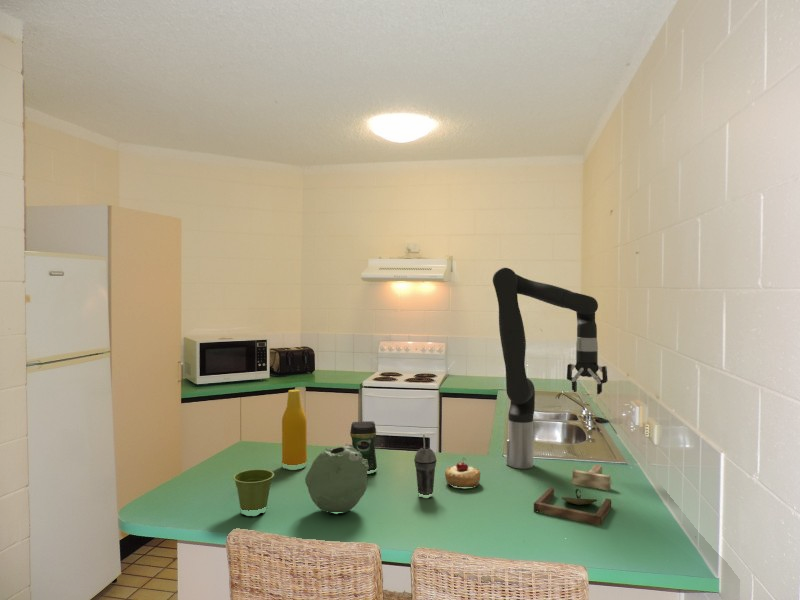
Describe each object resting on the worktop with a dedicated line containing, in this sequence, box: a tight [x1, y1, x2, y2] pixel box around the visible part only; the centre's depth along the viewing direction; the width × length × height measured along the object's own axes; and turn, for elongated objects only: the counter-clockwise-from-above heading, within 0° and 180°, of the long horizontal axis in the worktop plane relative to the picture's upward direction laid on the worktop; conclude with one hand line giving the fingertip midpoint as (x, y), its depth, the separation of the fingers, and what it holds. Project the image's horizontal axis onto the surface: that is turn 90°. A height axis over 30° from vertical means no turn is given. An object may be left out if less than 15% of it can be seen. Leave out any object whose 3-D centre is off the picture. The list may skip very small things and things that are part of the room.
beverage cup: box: [413, 434, 437, 495], centre depth 175 cm, size 7×7×20 cm
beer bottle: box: [281, 389, 308, 465], centre depth 205 cm, size 9×9×29 cm
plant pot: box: [232, 468, 275, 511], centre depth 162 cm, size 12×12×11 cm
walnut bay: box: [533, 487, 612, 527], centre depth 164 cm, size 19×16×2 cm
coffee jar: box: [349, 420, 378, 471], centre depth 199 cm, size 10×8×19 cm
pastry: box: [444, 457, 481, 488], centre depth 186 cm, size 12×12×9 cm
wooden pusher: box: [572, 463, 612, 491], centre depth 187 cm, size 12×12×4 cm
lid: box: [560, 488, 598, 506], centre depth 166 cm, size 11×10×5 cm
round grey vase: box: [304, 443, 369, 513], centre depth 162 cm, size 16×19×20 cm
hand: (586, 392), depth 202 cm, fingers open, 8 cm apart
